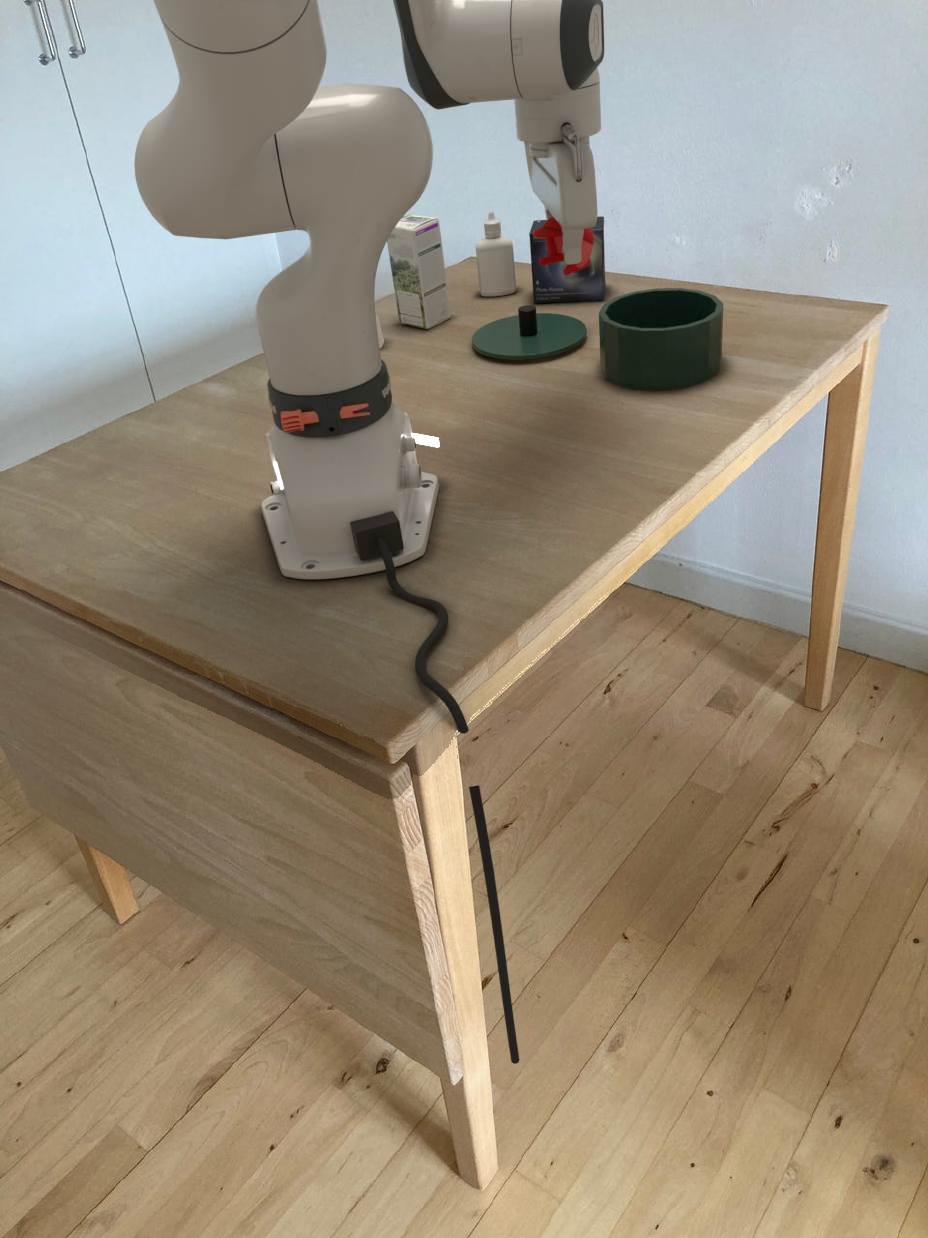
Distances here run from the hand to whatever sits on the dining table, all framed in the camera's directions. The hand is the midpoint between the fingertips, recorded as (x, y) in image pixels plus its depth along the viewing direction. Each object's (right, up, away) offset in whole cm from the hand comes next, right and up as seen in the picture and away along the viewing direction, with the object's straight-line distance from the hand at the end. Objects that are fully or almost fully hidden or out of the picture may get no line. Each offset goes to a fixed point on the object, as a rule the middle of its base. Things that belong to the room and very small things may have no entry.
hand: (564, 252), depth 115 cm
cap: (0, -2, +1) cm, 2 cm away
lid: (-2, -2, +26) cm, 26 cm away
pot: (+13, -9, +14) cm, 22 cm away
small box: (+5, +7, +40) cm, 41 cm away
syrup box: (-17, +3, +37) cm, 41 cm away
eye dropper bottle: (-6, +9, +44) cm, 46 cm away
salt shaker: (-25, -2, +31) cm, 40 cm away
